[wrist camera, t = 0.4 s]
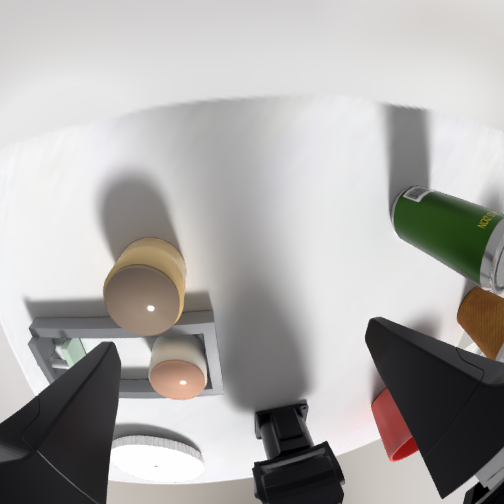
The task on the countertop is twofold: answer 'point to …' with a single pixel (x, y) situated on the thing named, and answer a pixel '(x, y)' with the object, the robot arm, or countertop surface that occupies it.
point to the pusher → (69, 354)
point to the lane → (109, 328)
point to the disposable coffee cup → (484, 321)
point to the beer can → (453, 234)
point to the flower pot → (392, 428)
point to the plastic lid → (156, 458)
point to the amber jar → (146, 287)
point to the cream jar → (178, 367)
